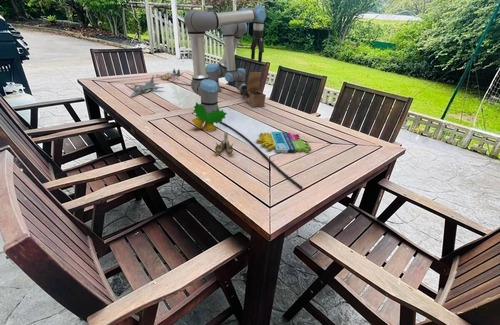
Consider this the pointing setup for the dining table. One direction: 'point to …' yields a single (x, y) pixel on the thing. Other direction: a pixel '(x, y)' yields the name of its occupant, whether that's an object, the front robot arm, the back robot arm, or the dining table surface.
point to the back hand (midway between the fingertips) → (254, 95)
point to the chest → (256, 99)
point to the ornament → (207, 117)
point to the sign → (283, 142)
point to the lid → (254, 80)
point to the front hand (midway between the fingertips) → (256, 60)
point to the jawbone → (224, 145)
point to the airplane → (145, 87)
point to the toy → (170, 75)
